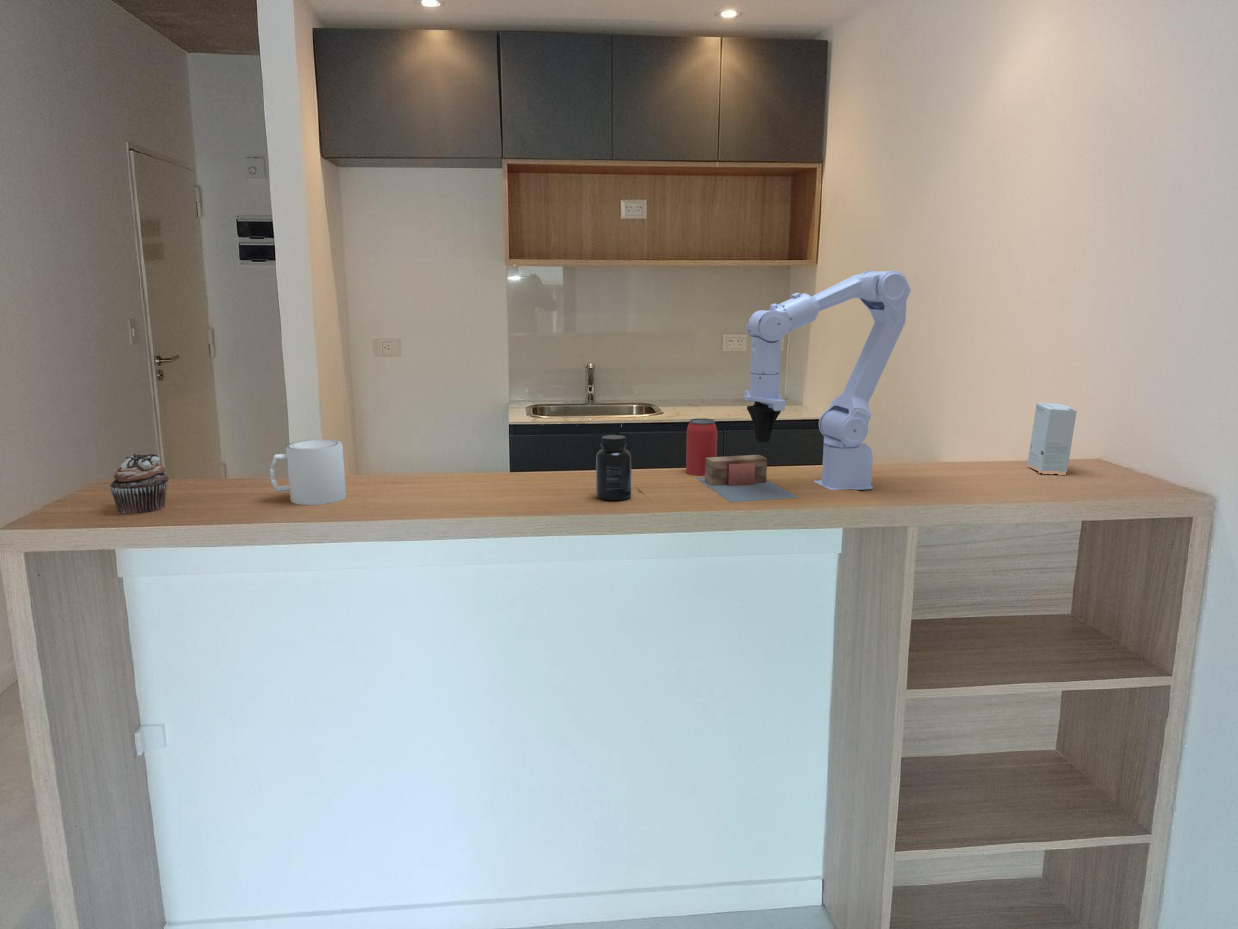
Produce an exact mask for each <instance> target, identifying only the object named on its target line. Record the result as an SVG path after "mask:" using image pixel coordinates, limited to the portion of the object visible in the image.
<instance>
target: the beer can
mask: <svg viewBox="0 0 1238 929" xmlns="http://www.w3.org/2000/svg"><path fill="white" fill-rule="evenodd" d="M688 422H689V423H688V425H687V428H686V446H685V447H686V448H685V449H686V450H685V451H686V452H685V453H686V454H685V473H686V474H688V475H691V476H697V477H698V476H699V477H700V476H701V477H703V476H704V477H705V458H706V457H718V455H717V454H718V427H717V425H716V420H715V419H712V418H706V417H705V418H703V417H702V418H691V419H689V421H688Z"/></svg>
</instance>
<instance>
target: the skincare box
mask: <svg viewBox="0 0 1238 929" xmlns="http://www.w3.org/2000/svg"><path fill="white" fill-rule="evenodd" d="M1034 412H1035V413H1034V419H1033V425H1032V432H1031V438H1030V443H1029V444H1030V445H1029V452H1028V457H1027V459H1028V460H1027V463H1026V464H1029V465H1030V466H1034V467H1036V468H1037V469H1038V470H1040V471H1059V472H1060V471H1061V472H1067V473H1068V469H1069V461H1070V455H1071V449H1072V443H1073V437H1074V430H1075V423H1076V418H1077V410H1076V409H1074V408H1072V407H1071V406H1069V405H1065V404H1064V403H1063V404H1062V403H1054V402H1051V403H1050V402H1048V403H1047V402H1036V404H1035V411H1034Z"/></svg>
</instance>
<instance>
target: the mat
mask: <svg viewBox="0 0 1238 929" xmlns="http://www.w3.org/2000/svg"><path fill="white" fill-rule="evenodd" d="M695 479H696V480H697V481H698V482H700V483H702V484H704V485H705V486H706V487H708V488H709V489H711V490H712V491H713V492H715V493H716V494H718V495H719V496H721V497H722V498H724V499H725V500H726V501H728V502H730V503H739V502H752V501H767V500H768V501H770V500H783V499H785V500H786V499H798V498H799V497H798V496H796V495H795V494H793V493H791V492H790V491H787V490H786V489H784V488H782V487H780V486H779V485H777V484H775V483H773V482H771V481H769V480H768V479H766V482H762V483H754V485H740V486H728V485H713V486H711V485H710V484H708V483H707V482H706V481H705V477H695Z"/></svg>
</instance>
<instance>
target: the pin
mask: <svg viewBox="0 0 1238 929" xmlns="http://www.w3.org/2000/svg"><path fill="white" fill-rule="evenodd" d="M754 479H755V463H754V462H742V463H727V483H726V485H728V486H740V485H754Z"/></svg>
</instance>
